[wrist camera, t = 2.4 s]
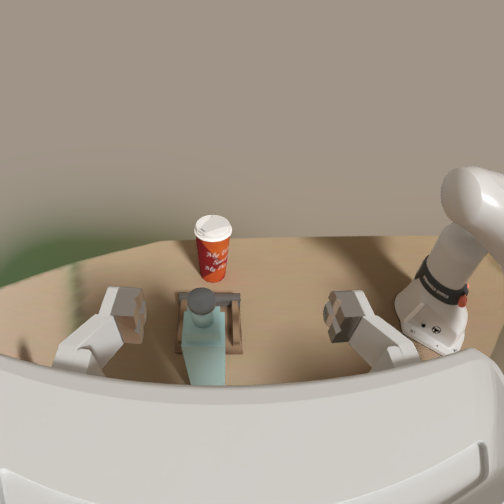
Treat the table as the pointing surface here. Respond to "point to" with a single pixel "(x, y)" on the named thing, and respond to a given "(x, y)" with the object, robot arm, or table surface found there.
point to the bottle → (204, 339)
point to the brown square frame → (232, 320)
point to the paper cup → (212, 246)
